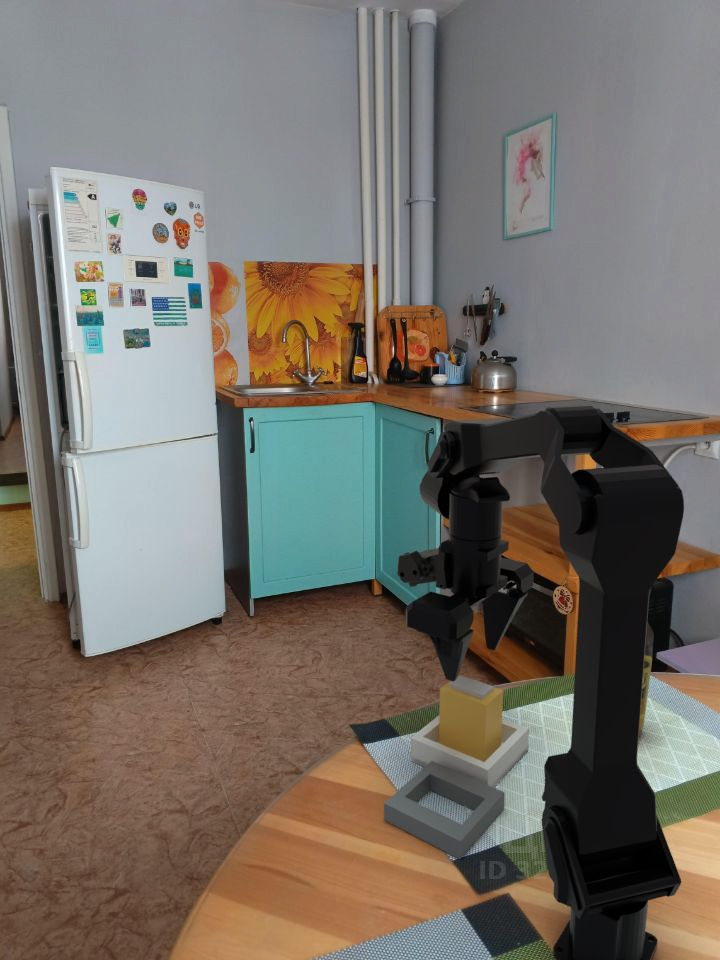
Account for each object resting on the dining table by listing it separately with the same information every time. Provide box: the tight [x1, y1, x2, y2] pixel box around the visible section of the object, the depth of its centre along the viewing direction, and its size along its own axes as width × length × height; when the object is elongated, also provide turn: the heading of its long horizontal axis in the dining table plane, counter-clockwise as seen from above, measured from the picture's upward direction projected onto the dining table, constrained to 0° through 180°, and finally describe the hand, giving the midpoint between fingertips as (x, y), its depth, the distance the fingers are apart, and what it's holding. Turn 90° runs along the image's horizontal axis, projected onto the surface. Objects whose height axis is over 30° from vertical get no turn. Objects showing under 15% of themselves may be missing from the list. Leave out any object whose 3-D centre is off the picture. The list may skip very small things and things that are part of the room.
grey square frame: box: [383, 761, 506, 860], centre depth 74 cm, size 9×9×2 cm
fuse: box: [438, 674, 504, 762], centre depth 83 cm, size 4×6×9 cm, turn 52°
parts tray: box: [410, 715, 530, 788], centre depth 84 cm, size 10×10×3 cm
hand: (471, 663), depth 82 cm, fingers open, 9 cm apart
